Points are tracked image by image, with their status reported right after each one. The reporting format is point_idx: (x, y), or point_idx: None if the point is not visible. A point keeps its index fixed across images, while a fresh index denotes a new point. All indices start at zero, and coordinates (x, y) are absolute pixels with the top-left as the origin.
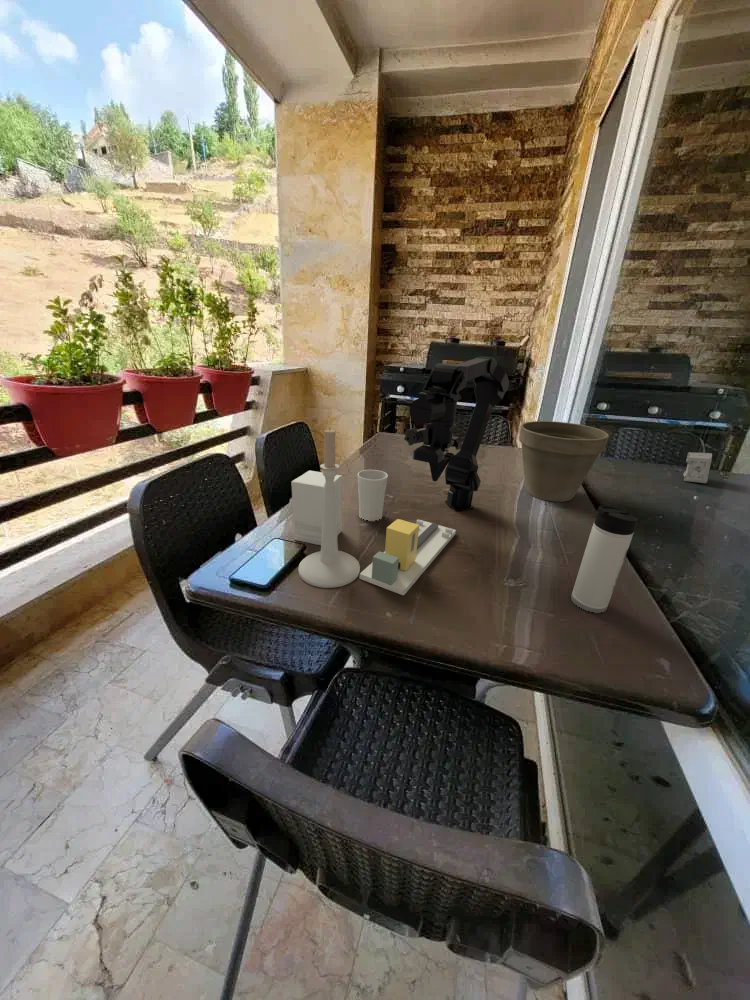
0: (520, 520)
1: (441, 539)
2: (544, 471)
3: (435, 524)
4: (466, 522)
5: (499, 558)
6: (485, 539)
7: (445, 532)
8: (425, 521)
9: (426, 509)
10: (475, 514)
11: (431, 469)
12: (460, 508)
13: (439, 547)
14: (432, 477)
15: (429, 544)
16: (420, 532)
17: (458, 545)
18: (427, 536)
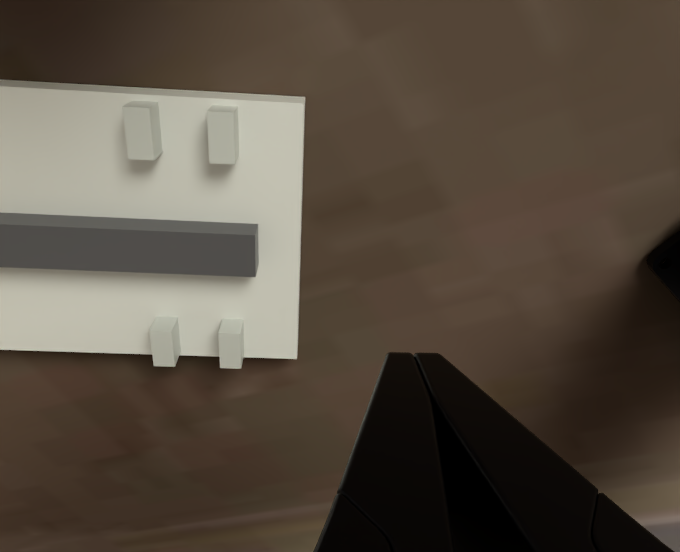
0: None
1: (121, 326)
2: None
3: (239, 260)
4: (491, 353)
5: (190, 534)
6: (332, 465)
7: (171, 344)
8: (300, 155)
9: (602, 49)
10: (633, 368)
11: (337, 509)
12: (677, 286)
13: (21, 344)
14: (377, 387)
15: (7, 288)
16: (111, 185)
17: (182, 385)
18: (45, 266)
